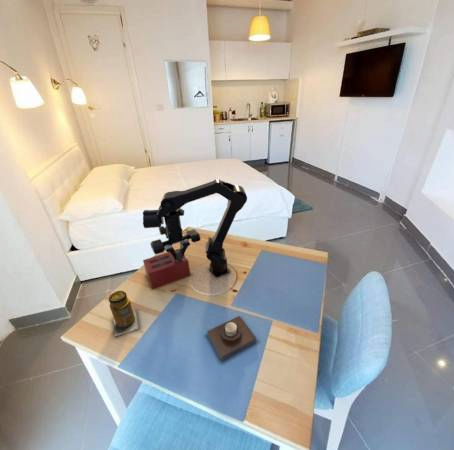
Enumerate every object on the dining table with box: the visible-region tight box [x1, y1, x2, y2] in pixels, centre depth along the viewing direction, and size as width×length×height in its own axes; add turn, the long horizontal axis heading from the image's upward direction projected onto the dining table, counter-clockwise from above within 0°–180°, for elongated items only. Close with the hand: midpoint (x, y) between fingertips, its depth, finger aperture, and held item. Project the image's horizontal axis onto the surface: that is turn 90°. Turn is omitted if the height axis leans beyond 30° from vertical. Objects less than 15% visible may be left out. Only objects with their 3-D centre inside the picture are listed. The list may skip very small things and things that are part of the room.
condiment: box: [108, 290, 139, 337], centre depth 82 cm, size 7×8×12 cm
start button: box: [225, 322, 237, 336], centre depth 77 cm, size 4×4×2 cm
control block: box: [206, 315, 257, 362], centre depth 78 cm, size 12×10×4 cm
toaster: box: [142, 252, 191, 290], centre depth 105 cm, size 16×10×8 cm, turn 120°
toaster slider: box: [174, 248, 183, 262], centre depth 102 cm, size 2×3×4 cm
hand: (178, 258), depth 103 cm, fingers closed on toaster slider, 2 cm apart
